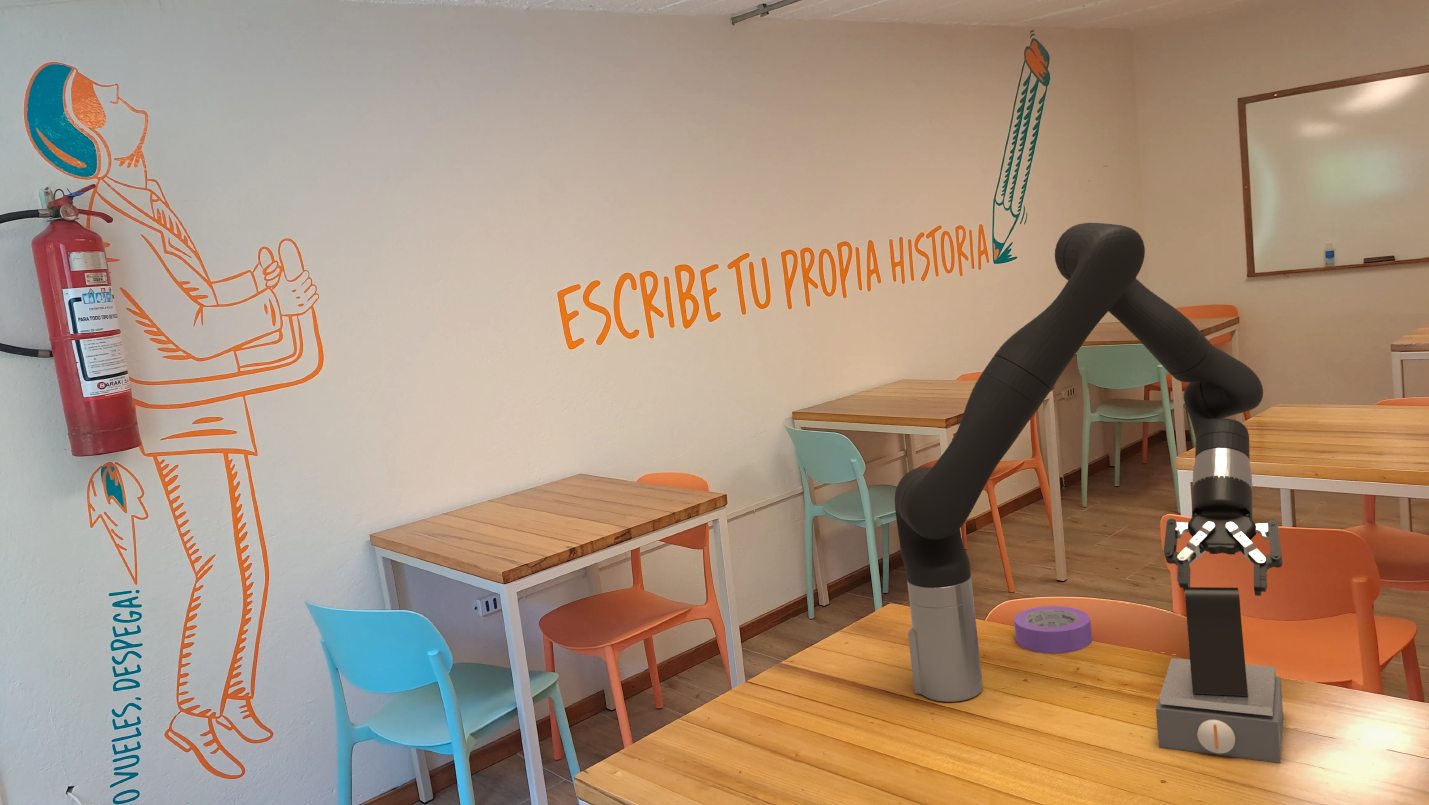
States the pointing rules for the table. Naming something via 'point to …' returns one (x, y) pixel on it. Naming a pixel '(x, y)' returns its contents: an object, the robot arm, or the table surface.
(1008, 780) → the table surface
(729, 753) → the table surface
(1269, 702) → the pan
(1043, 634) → the masking tape
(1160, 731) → the base
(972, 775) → the table surface
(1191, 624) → the phone stand
